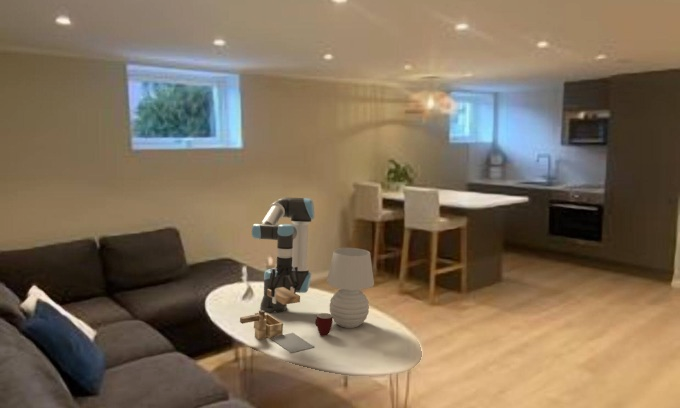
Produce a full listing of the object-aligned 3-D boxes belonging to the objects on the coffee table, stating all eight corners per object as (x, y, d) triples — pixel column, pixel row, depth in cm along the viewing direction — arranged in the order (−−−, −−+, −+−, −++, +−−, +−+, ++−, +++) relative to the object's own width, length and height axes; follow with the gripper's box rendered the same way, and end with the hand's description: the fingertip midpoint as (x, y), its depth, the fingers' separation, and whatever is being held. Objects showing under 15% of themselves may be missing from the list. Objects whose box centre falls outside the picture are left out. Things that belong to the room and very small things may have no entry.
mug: (309, 333, 263) (309, 314, 261) (319, 329, 269) (320, 310, 267) (324, 339, 256) (325, 319, 255) (335, 334, 262) (335, 315, 261)
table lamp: (378, 321, 284) (382, 250, 278) (361, 336, 261) (365, 260, 255) (337, 313, 294) (340, 244, 289) (316, 327, 271) (319, 253, 266)
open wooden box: (267, 324, 272) (268, 302, 270) (282, 334, 259) (283, 312, 257) (244, 329, 264) (245, 306, 263) (259, 340, 251) (259, 316, 250)
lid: (283, 292, 260) (283, 287, 259) (299, 302, 246) (300, 296, 245) (267, 295, 254) (267, 289, 254) (283, 304, 241) (283, 298, 240)
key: (262, 317, 255) (262, 310, 255) (264, 319, 253) (264, 311, 253) (240, 322, 248) (240, 314, 248) (242, 323, 246) (242, 315, 246)
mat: (293, 333, 262) (293, 332, 261) (314, 347, 246) (314, 346, 245) (270, 338, 254) (270, 337, 254) (290, 353, 238) (290, 352, 238)
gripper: (300, 253, 257) (298, 296, 259) (260, 256, 245) (259, 302, 247) (308, 256, 251) (306, 300, 253) (267, 260, 238) (266, 307, 241)
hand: (283, 301), depth 250 cm, fingers closed on lid, 9 cm apart
